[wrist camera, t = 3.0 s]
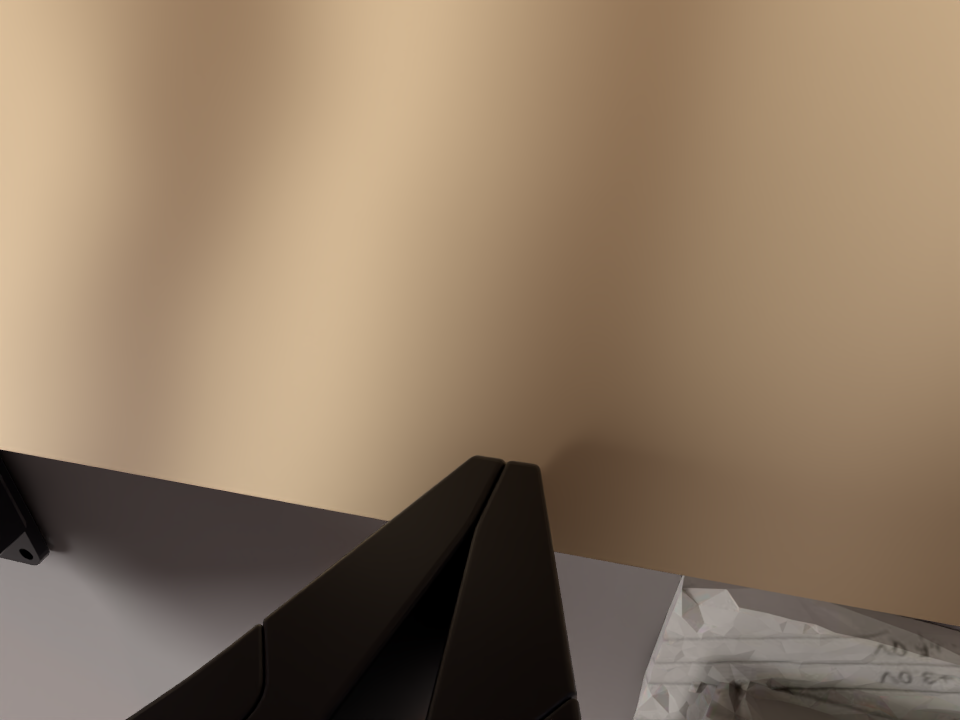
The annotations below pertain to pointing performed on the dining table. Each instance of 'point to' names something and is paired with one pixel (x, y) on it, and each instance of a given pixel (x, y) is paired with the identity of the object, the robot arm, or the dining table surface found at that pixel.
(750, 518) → the oak plank
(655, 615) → the dining table surface
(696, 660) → the packaged product
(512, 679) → the robot arm
